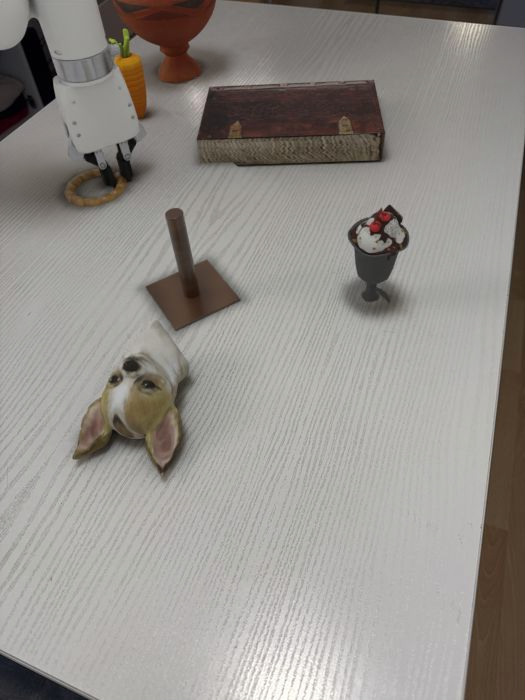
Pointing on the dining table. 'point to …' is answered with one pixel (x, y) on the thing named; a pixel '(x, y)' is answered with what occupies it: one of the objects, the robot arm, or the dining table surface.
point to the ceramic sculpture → (140, 399)
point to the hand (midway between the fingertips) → (119, 182)
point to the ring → (98, 201)
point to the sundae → (377, 248)
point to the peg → (189, 282)
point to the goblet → (168, 31)
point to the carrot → (132, 74)
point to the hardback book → (292, 123)
